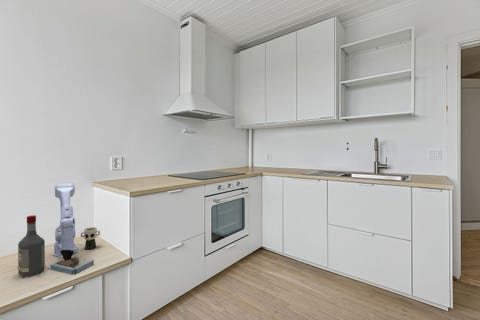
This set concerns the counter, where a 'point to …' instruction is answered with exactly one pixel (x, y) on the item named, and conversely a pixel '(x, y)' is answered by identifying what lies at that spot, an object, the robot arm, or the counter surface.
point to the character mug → (90, 237)
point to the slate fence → (70, 269)
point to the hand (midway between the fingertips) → (67, 262)
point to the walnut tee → (69, 262)
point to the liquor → (31, 251)
